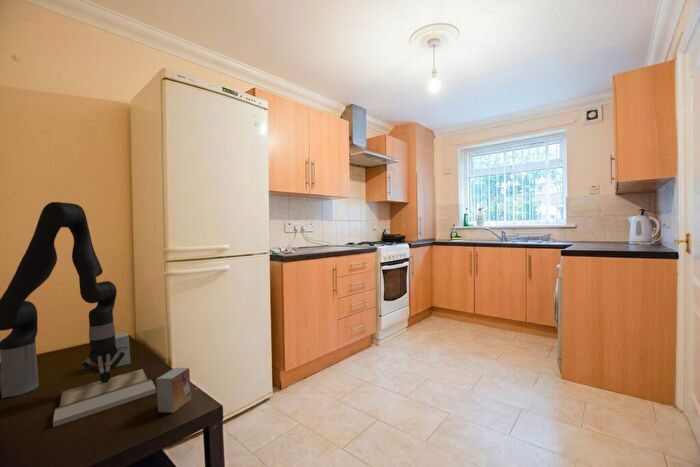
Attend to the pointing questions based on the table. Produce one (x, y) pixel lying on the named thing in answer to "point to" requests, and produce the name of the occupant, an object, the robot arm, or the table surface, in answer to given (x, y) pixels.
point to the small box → (173, 390)
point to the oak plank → (102, 387)
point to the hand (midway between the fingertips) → (105, 381)
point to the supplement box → (122, 348)
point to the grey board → (102, 402)
